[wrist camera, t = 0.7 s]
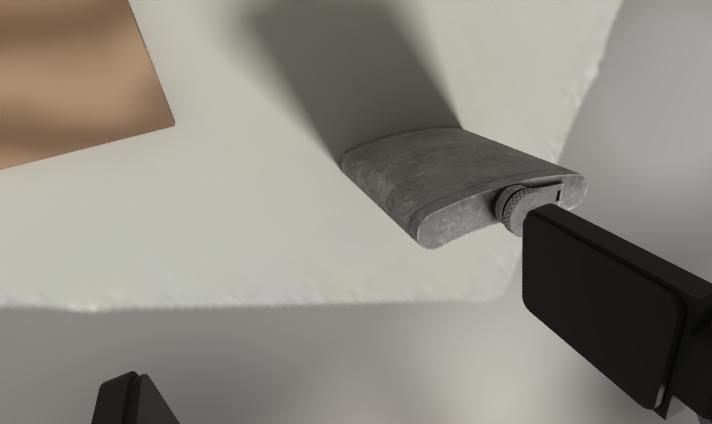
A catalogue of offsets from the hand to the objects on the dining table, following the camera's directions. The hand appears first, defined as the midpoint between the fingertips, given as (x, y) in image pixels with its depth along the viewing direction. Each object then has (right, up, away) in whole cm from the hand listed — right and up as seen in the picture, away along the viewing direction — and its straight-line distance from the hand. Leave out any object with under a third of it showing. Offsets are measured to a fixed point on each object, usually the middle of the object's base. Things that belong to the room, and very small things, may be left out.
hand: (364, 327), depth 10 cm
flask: (+5, +9, +33) cm, 34 cm away
